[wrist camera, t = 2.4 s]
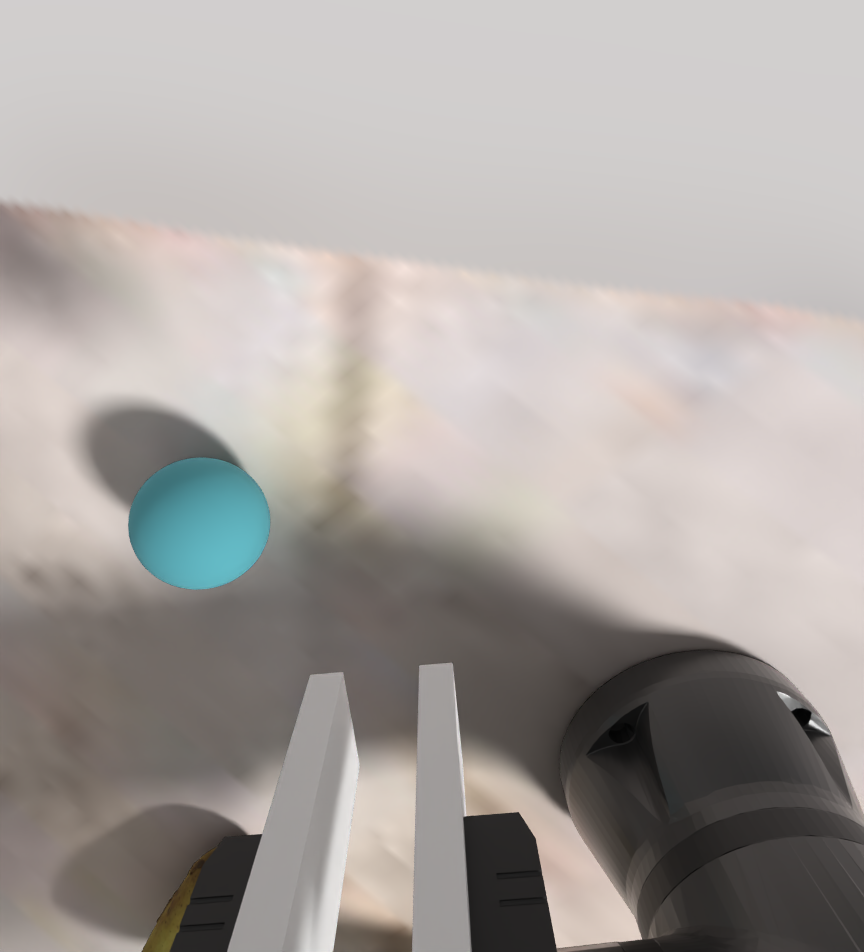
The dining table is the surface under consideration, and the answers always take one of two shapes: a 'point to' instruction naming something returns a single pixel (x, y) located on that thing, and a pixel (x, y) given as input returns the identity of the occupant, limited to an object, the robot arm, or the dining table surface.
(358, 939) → the dining table surface
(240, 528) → the ball
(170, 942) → the potato
